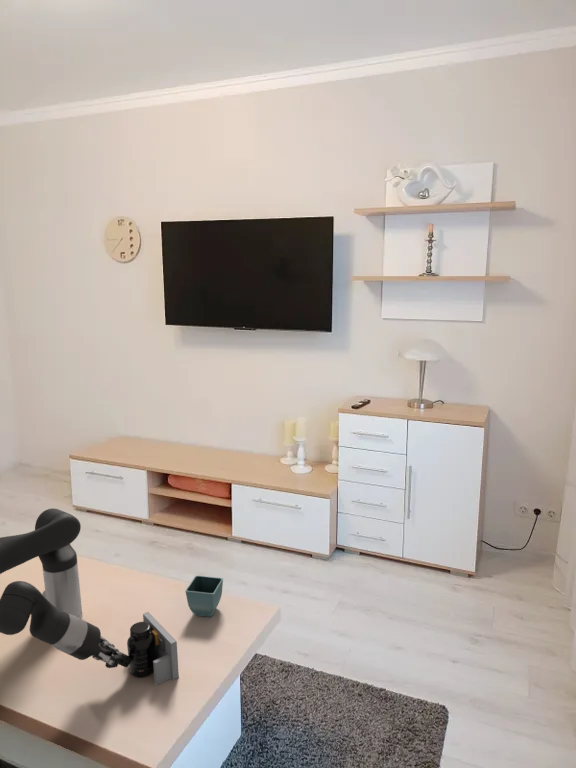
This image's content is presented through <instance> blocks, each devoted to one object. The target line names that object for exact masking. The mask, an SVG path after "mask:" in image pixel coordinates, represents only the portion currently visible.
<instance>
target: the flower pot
mask: <svg viewBox="0 0 576 768" xmlns="http://www.w3.org/2000/svg"><path fill="white" fill-rule="evenodd" d="M223 583H224V578H223V577H214V576H206V575H195V576H194V577H193V579H192V580H191V582H190V583H189V585H188V586H187V587H186V589H185V596H186V602H187V606H188V608H189V610H190V611H191V613H192V614H194V616H196V617H197V616H198V617H199V616H200V617H205V618H206V617H207V618H208V617H209V618H211V617H212V616H213V615H214V613H215V611H216V610H217V607H219V606H218V605H219V604H220V602H221V597H222V594H223V586H224V585H223Z"/></svg>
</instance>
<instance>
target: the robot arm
mask: <svg viewBox="0 0 576 768" xmlns="http://www.w3.org/2000/svg"><path fill="white" fill-rule="evenodd" d="M81 528H82V527H81V522H80V520H79V519H78V518H77V517H76V516H74V515H73V514H71V513H69V512H66V511H63V510H61V509H58V508H54V507H53V508H48V509H45V510H44V511H42V512H41V513H40V514H39V515H38V517H37V519H36V521H35V525H34V530H32V531H29V532H26V533H22V534H15V535H8V536H1V537H0V575H1V574H3V573H5V572H7V571H10V570H11V569H14V568H16V567H18V566H20V565H23V564H24V563H26V562H28V561H31V560H32V559H35V558H37V557H38V558H39V560H40V562H41V565H42V567H41V568H42V572H43V573H42V575H43V583H44V590H43V591H42V592H41V591H40V590H39V589H38V588H37V587H36V586H35V585H33V584H31V583H29V582H26V581H24V580H16V581H12V582H10V583H8V584H7V585H6V587H5V588H4V590H3V592H2V594H1V597H0V633H1V634H3V635H8V636H13V635H16V634H19V633H21V632H22V631H23V630H24V629H25V628H26V626H27V624H28V622H29V619H30V623H29V633H30V635H31V636H32V637H33V638H35V639H37V640H39V641H40V642H41V641H42V642H43V643H45V644H47V645H50V646H52V647H53V648H55V649H56V650H58V651H60V652H62V653H64V654H67V655H69V656H71V657H74V658H76V659H77V660H80V661H83V660H84V661H85V660H87V659H88V658H90V657H92V658H93V659H94V660H96V661H101V662H104V663H105V665H104V666H105V667H106V668H107V669H112V668H117V667H118V666H119V665H120V666H121V667H124V668H128V667H129V664H130V663H131V661H132V659H131V658H130V657H129V656H128V654H126V653H124V652H121V651H120V650H119V649H118V648H116V646H115V645H114V644H113V643H111V642H110V641H109V640H107V639H106V638H105V637H103V636H102V635H101V634H102V633H101V629H100V628H99V627H98V626H96V625H94V624H92V623H90V622H88V621H86V620H84V619H82V618H83V609H82V597H81V586H80V577H79V575H80V573H79V565H78V556H77V554H78V553H77V552H76V551H75V549H74V548H73V546H72V545H71V544H72V543H73V542H74V541H75V540H76V539H77V538H78V536H79V534H80V533H81Z"/></svg>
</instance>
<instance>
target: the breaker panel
mask: <svg viewBox="0 0 576 768" xmlns="http://www.w3.org/2000/svg"><path fill="white" fill-rule="evenodd" d="M142 617H143V618H142V622H147V623H148V624H149V625H150V630H151V632H152V633H153V635H154V636H155V644H156V655H157V660H155V661H153V666H154V673H153V679H154V684H155V685H156V686H158V685H160V684H162V683H164V682H166V681H168V680H170V679H172V680H173V681H174V680H177V679H179V677H180V675H179V659H178V658H179V657H178V642H177V640H176V639H175V638H174V637H173V636H172V634H171V633H170V632H169V631H167V630H166V628H164V626H163V625H161V623H160V622H159V621H158V620H157V619H156V618H155V617H154V616H153V615H152V614H151V613H150V612H149V611H146V612H144V613H142Z"/></svg>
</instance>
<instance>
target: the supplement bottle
mask: <svg viewBox="0 0 576 768" xmlns="http://www.w3.org/2000/svg"><path fill="white" fill-rule="evenodd" d="M126 647H127V655H128V656H129V657H130V658H131V659H132V661H131V663H130V664H129V666H128V667H129V673H130V675H131V676H133V677H134V678H138V679H143V678H147V677H150V676H151V675H152V674H153V675H154V666H153V661H155V660H157V655H156V644H155V636H154V635H153V633H152V632H151V630H150V625H149V624H148V623H147V622H144V621H137V622H135V623H134V624H132V625H131V626H130V628H129V637H128V639H127V642H126Z"/></svg>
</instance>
